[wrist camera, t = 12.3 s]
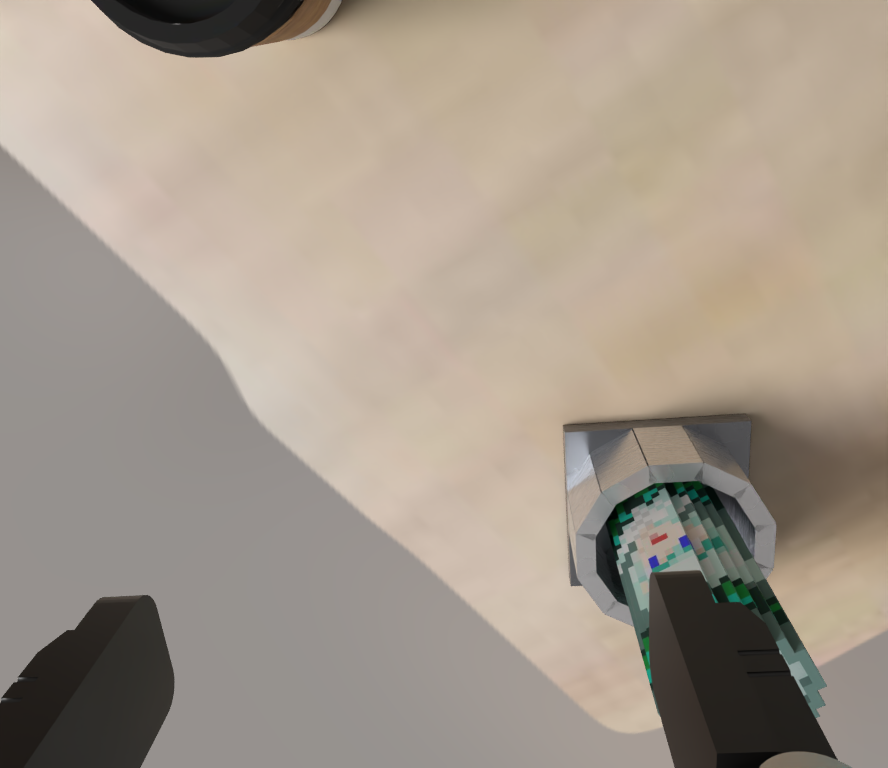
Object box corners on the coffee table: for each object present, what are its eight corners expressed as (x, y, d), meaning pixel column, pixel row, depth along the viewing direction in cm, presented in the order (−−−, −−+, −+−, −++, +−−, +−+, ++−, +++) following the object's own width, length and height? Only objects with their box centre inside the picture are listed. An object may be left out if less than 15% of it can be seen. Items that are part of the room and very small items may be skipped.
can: (684, 438, 43) (781, 609, 29) (733, 521, 44) (848, 722, 30) (586, 490, 44) (633, 677, 30) (637, 568, 46) (704, 781, 32)
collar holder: (745, 413, 43) (780, 457, 38) (738, 568, 46) (769, 627, 41) (562, 425, 44) (573, 469, 39) (569, 576, 47) (579, 635, 42)
